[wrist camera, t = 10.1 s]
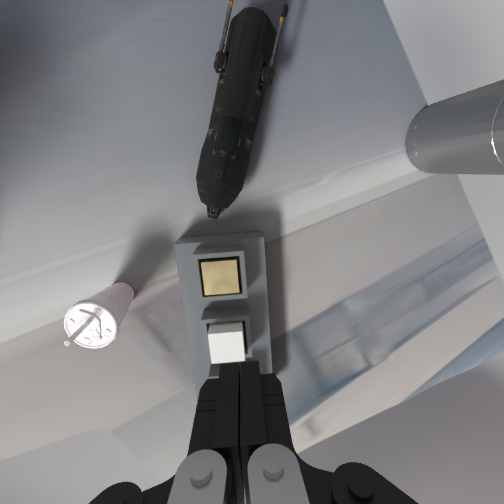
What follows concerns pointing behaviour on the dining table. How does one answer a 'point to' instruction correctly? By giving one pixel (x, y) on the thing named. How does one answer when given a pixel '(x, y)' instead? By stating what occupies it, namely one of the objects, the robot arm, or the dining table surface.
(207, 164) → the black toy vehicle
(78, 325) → the smoothie
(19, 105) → the dining table surface
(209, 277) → the brass metal cube
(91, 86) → the dining table surface
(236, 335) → the white square block
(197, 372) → the console
